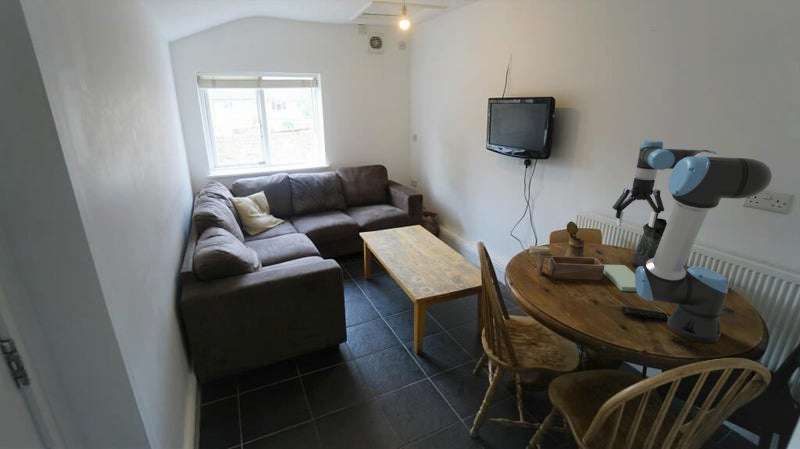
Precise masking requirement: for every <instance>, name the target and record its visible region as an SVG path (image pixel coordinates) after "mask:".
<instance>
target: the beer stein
mask: <svg viewBox="0 0 800 449" xmlns="http://www.w3.org/2000/svg"><path fill="white" fill-rule="evenodd" d="M667 223H668V221H667V220H666V219H665V218H660V217H659V218H657V220H655V223H654V227H650V226H648V224H649V222H647V223H645V224H644V225H643V226H642V231H643V233H642V235H641V238H640V240H639V243H638V246H637V248H636V250H635V252H634V254H633V255H632V256H631V266H632V267H633V268H634V269H635V270H636V269H637V268H638V267H640V266H643V267H645V266H646V263H647V261H648V260H649V259H652V258H654V256H655V254H656V251H657V249H658V246H659V243H660V241H661V238H662V236H663V233H664V230H665V228H666V225H667Z"/></svg>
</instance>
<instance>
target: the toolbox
mask: <svg viewBox="0 0 800 449" xmlns="http://www.w3.org/2000/svg"><path fill="white" fill-rule="evenodd" d="M545 259H547V264H546V265H547V266H546V270H547V272H548V274H549V275H550V276H551V278H552V279H568V280H570V279H572V280H591V281H592V280H593V281H594V280H595V281H596V280H597V281H602V280H603V275H604V273H603V272H604V267H605V266H604V265H605V264H604V265H603V263H602V262H601V261H600V260H599V259H598V258H597V257H593V256H592V257H590V256H584V257H570V256H565V255H553V254H551V253H550V252H549V254H541V255H538V258H537V264H536V270H537V271H536V272H537V274H538V276H542V275H543V269H544V260H545Z"/></svg>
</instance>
